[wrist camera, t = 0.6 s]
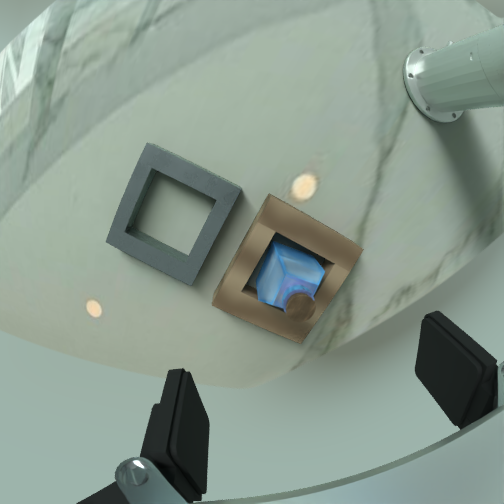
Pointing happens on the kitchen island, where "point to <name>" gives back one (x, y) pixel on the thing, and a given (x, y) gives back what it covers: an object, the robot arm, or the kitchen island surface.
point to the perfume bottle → (289, 281)
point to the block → (153, 249)
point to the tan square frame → (252, 248)
